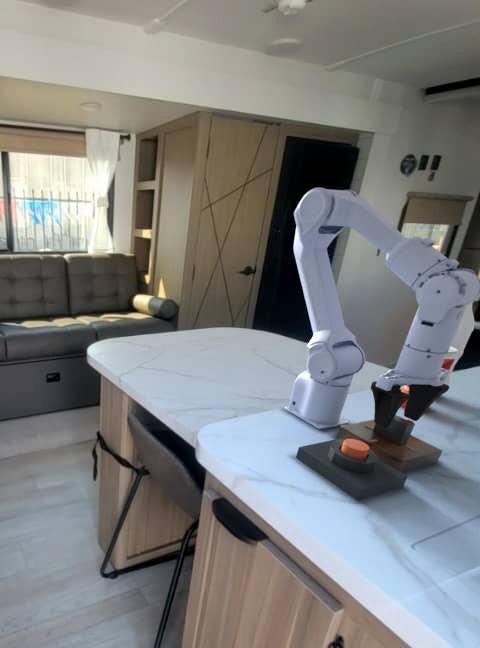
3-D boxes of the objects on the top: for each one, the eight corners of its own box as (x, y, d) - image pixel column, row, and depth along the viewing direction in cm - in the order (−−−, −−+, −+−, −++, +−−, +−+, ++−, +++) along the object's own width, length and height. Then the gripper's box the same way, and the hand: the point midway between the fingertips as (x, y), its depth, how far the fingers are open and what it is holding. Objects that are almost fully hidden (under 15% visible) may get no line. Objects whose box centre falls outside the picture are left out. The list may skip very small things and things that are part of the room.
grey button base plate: (295, 457, 70) (301, 438, 69) (337, 448, 74) (344, 429, 72) (357, 501, 60) (365, 479, 59) (402, 487, 64) (412, 466, 62)
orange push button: (335, 449, 66) (338, 440, 66) (351, 446, 68) (354, 437, 67) (355, 461, 63) (358, 452, 63) (371, 457, 65) (375, 448, 64)
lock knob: (372, 431, 74) (380, 411, 73) (379, 430, 75) (387, 409, 73) (398, 445, 70) (407, 424, 68) (406, 443, 71) (415, 422, 69)
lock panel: (336, 437, 77) (340, 425, 76) (373, 429, 80) (377, 417, 79) (397, 473, 67) (403, 460, 66) (437, 462, 70) (443, 449, 69)
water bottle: (432, 402, 93) (481, 292, 82) (399, 390, 99) (441, 285, 88) (448, 396, 96) (497, 290, 85) (416, 385, 102) (458, 284, 91)
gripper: (420, 360, 60) (389, 439, 65) (482, 351, 64) (447, 426, 70) (376, 345, 65) (350, 419, 71) (435, 338, 70) (406, 408, 76)
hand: (395, 421), depth 71 cm, fingers open, 7 cm apart
